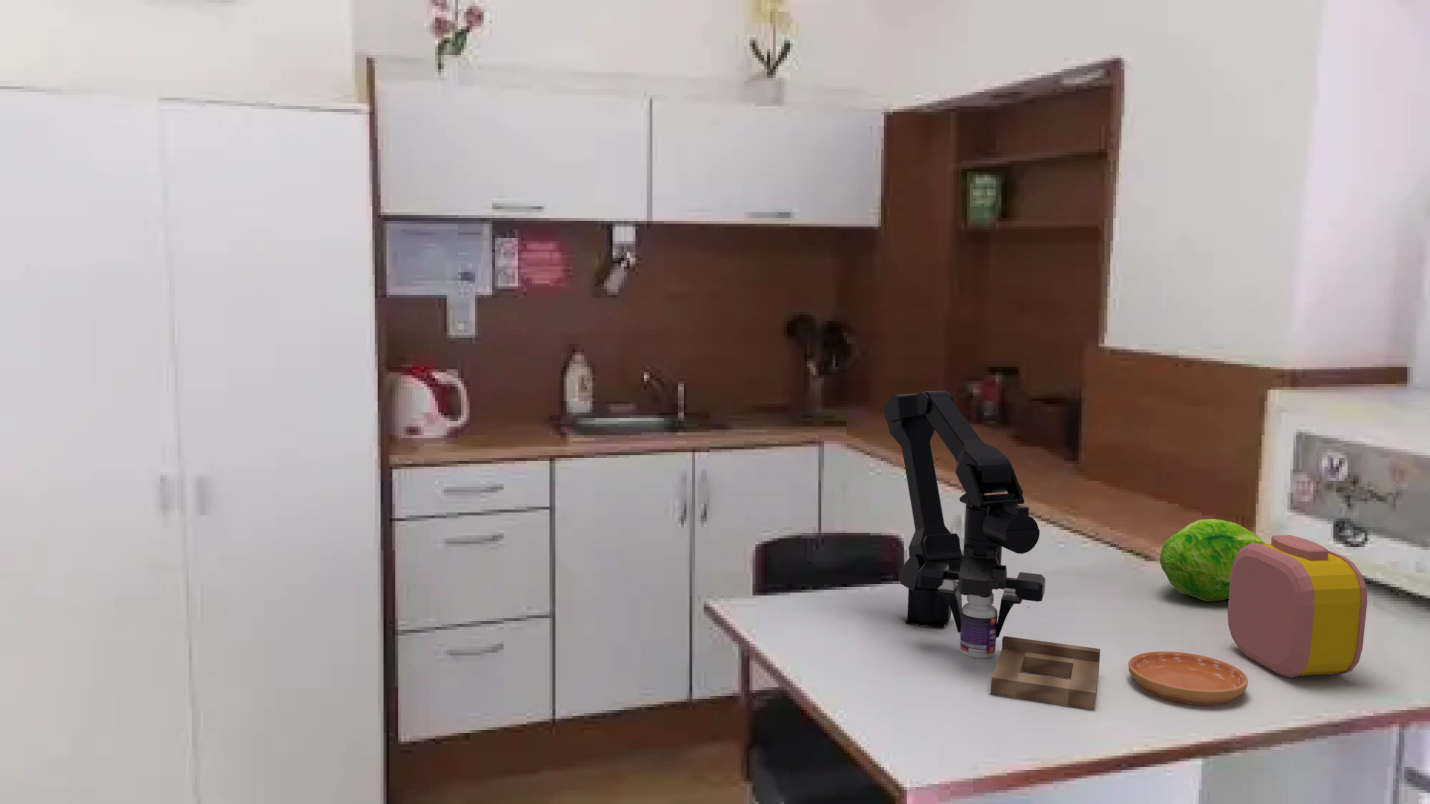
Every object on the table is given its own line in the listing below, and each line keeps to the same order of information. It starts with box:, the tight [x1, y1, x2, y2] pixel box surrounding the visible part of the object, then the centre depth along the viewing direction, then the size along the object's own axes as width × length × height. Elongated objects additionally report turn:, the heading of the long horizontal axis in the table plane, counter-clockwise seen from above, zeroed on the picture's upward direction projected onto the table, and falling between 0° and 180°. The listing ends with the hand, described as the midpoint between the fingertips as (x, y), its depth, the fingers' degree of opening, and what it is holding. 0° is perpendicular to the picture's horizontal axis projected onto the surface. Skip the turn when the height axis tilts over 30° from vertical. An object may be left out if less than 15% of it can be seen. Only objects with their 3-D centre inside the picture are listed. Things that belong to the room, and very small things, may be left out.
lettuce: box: [1159, 518, 1266, 602], centre depth 206 cm, size 15×23×16 cm
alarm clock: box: [1227, 534, 1368, 679], centre depth 172 cm, size 18×11×19 cm, turn 9°
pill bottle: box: [959, 592, 998, 659], centre depth 175 cm, size 5×5×10 cm
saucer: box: [1127, 650, 1249, 706], centre depth 163 cm, size 16×16×3 cm
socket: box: [990, 635, 1101, 711], centre depth 163 cm, size 14×14×4 cm
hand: (978, 634), depth 175 cm, fingers closed on pill bottle, 5 cm apart
